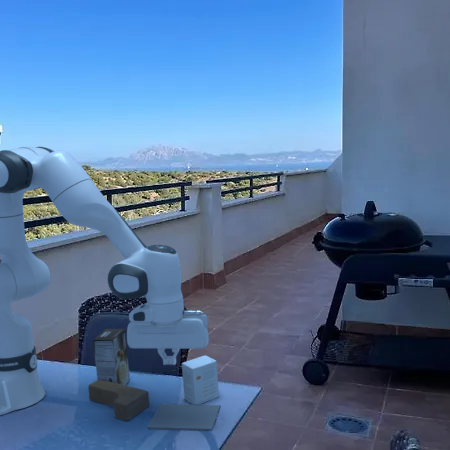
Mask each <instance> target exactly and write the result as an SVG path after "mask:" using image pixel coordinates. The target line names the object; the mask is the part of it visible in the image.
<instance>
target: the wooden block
mask: <svg viewBox="0 0 450 450" xmlns="http://www.w3.org/2000/svg"><path fill="white" fill-rule="evenodd" d="M88 393H89V400H90V401H93V402H97V403H101V404H103V405H106V406H107V405H108V406H112V407H113V413H114V414H113V416H114V418H115V419H119V420H122V421H125V422H128V421H130V420H131V419H133V418H134V417H135V416H137V415H138V414H140V413H142V412H144V410H146V409H148V408H149V407H150V397H149V395H150V394H149V391H148V390H146V389H141V388H138V387H133V386H129V385H127V384H126V385H122V384H118V383H114V382H110V381H106V380H101V379H99V380H95V381H93V382H91V383H90V384H88Z"/></svg>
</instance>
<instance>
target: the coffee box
mask: <svg viewBox="0 0 450 450" xmlns="http://www.w3.org/2000/svg"><path fill="white" fill-rule="evenodd" d="M92 342H93V351H94V359H95V361H94V362H95V368H96V379H97V380H99V379H101V380H106V381H110V382H114V383H118V384H122V385H126V386H127V384H128V383H129V382H130V381H131V378H130V377H131V376H130V367H129V355H128V347H127V346H128V344H127V331H126V328H105V329H104V330H103V331H102V332H100V333H99V334H98V335H97V336H95V337H94V338H93V340H92ZM97 380H96V381H97Z"/></svg>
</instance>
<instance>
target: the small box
mask: <svg viewBox="0 0 450 450" xmlns="http://www.w3.org/2000/svg"><path fill="white" fill-rule="evenodd" d="M181 369H182V371H181V372H182V373H181V374H182V383H183V395H184V396H183V399H184V400H185V401H186V402H188V403H189V404H190V405H203V404H204V403H206V402H209V401H212V400H214V399H217V398H219V397H220V391H219V377H218V376H219V375H218V362H217V360H215V359H214V358H212V357H209V356H208V355H206V354H205V355H202V356H198V357H195V358H193V359H191V360H190V359H189V360H187V361H183V362H182V363H181Z"/></svg>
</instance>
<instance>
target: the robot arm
mask: <svg viewBox="0 0 450 450" xmlns="http://www.w3.org/2000/svg"><path fill="white" fill-rule="evenodd" d="M37 189H42V190H43V191H44V192H45V194H47V195H48V197H49V199H50V200H51V202H52V203H53V205H54V206H55V208H56V210H57V211H58V213H59V214H60V215H61V216H62V217H63V218H64V219H65V220H66V221H67V222H68V223H69V224H71V225H74V226H77V227H81V228H88V229H92V230H95V231H97V232H99V233H102V234H103V235H105V236H106V237H107V238H108V239H109V240H110V242H111V243H112V244H113V245H114V247H115V248H116V250H118V252H119V253H120V254H121V255H122V257H123V258H124V259H123V260H121V261H119V262H117V263H115V264H114V265H113V266H112V267H111V268H110V269H109V271H108V274H107V284H108V287H109V290H110V291H111V293H112V294H113V295H114V296H115V297H117V298H119V299H121V300H133V299H139V298H141V297H142V298H143V297H144V298H146V303H144V304H140V305H138V306H136V307H134V308H133V309H132V310H131V311H130V313H129V315H128V319H129V321H130V322H129V323H128V325H127V329H126V343H127V346H128V347H129V349H157V353H158V355H159V356H160V357H161V359H162V363H163V366H175V365H176V364H177V355H178V354H179V352H180V350H181V349H184V350H186V349H193V350H194V349H203V350H204V349H205V348H206V347H207V346H208V344H209V342H210V338H209V337H210V335H209V331H208V330H209V329H208V326H209V317H208V315H207V314H206V312H204V311H202V310H186V309H185V308H184V307H185V306H184V296H183V292H182V289H181V288H182V287H181V286H182V282H183V281H182V280H183V279H182V269H181V263H180V262H181V261H180V257H179V255H178V252H177V251H176V249H175V248H173V247H172V246H168V245H164V244H152V245H148V246H147V245H146V244H145V243H144V242H143V241H142V240H141V238H140V237H139V236H138V234H136V232H135V231H134V230H133V228H132V227H131V226H130V224H129V223H128V222H127V221H126V219H125V218H124V217H123V216H122V214H120V213H119V211H118V210H117V209H116V208H115V207H114V206H113V205H112V204H111V203H110V201H109V200H107V199H106V197H105V196H104V195H103V193H102V192H101V191H100V189H99V188H98V187H97V185H96V184H95V182H94V180H92V178H91V176H90V175H89V174H88V172H86V170H85V169H84V167H83V166H82V165H81V164H80V163H79V162H78V161H77V160H76V159H75V158H74V157H73V156H72V154H70V153H69V152H67V151H64V150H56V151H55V150H53V149H51V148H48V147H44V146H35V147H34V146H21V147H17V148H12V149H3V150H0V416H3V415H5V414H9V413H10V412H13V411H17V410H21V409H24V408H27V407H30V406H33V405H34V404H37V403H39V402H40V401H41V400H43V398H44V397H45V395H46V391H45V389H44V387H43V385H42V382H41V379H40V375H39V371H38V357H37V350H36V346H35V345H34V336H33V328H32V323H31V320H30V319H29V318H27V317H26V316H25V315H23V314H19V313H16V312H13V311H12V309H11V308H12V307H11V303H14V302H18V301H21V300H25V299H28V298H31V297H34V296H36V295H38V294H40V293H42V292H44V291H45V290H47V288H48V287H49V285H50V283H51V282H50V281H51V271H50V268H49V267H48V265H47V264H46V263H45V262H44V261H43V260H42V259H40V258H38V257H37V256H35V254H34V253H33V252H32V250H31V249H30V247H29V245H28V242H27V239H26V231H25V230H26V229H25V219H24V218H25V217H24V205H23V204H24V202H23V199H24V195H25V193H26V192H29V191H33V190H34V191H35V190H37ZM184 309H185V310H184ZM166 349H171V351H172V352H171V353H173V355H167V353H166V351H165V350H166Z"/></svg>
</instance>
